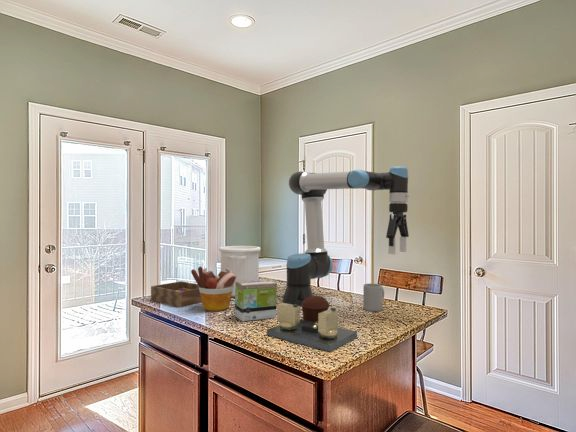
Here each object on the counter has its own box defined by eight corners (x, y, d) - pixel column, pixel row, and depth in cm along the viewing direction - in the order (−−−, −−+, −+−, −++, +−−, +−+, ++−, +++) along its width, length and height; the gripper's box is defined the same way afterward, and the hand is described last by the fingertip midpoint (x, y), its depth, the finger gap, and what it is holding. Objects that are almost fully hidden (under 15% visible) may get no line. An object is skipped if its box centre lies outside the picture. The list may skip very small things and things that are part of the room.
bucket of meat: (220, 301, 182) (221, 261, 182) (243, 307, 171) (243, 264, 171) (185, 309, 167) (185, 265, 167) (207, 316, 156) (208, 268, 156)
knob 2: (329, 340, 119) (330, 313, 119) (314, 336, 123) (314, 310, 123) (342, 334, 126) (342, 309, 126) (326, 331, 129) (327, 306, 129)
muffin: (308, 327, 141) (308, 300, 141) (295, 319, 152) (296, 295, 152) (335, 323, 146) (335, 298, 146) (321, 316, 156) (321, 292, 156)
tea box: (242, 322, 147) (243, 285, 147) (234, 316, 156) (234, 281, 156) (277, 318, 154) (277, 282, 154) (267, 312, 163) (267, 278, 163)
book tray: (150, 300, 184) (151, 286, 184) (181, 294, 198) (181, 281, 198) (179, 307, 170) (179, 292, 170) (210, 300, 184) (210, 286, 184)
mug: (374, 312, 164) (374, 287, 164) (359, 308, 170) (359, 284, 170) (390, 308, 171) (391, 284, 171) (375, 304, 178) (376, 282, 178)
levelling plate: (266, 335, 131) (266, 323, 131) (296, 323, 146) (296, 312, 146) (330, 351, 116) (330, 338, 116) (356, 337, 130) (357, 325, 130)
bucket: (258, 299, 188) (258, 249, 188) (214, 298, 188) (214, 249, 188) (262, 289, 214) (262, 245, 214) (223, 288, 214) (223, 245, 214)
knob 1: (274, 327, 133) (274, 303, 133) (284, 323, 138) (284, 300, 138) (292, 331, 128) (292, 306, 128) (302, 327, 133) (302, 303, 133)
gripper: (396, 202, 146) (396, 255, 147) (416, 203, 167) (415, 251, 167) (378, 202, 151) (377, 254, 151) (399, 204, 171) (399, 250, 171)
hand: (397, 252), depth 159 cm, fingers open, 13 cm apart
